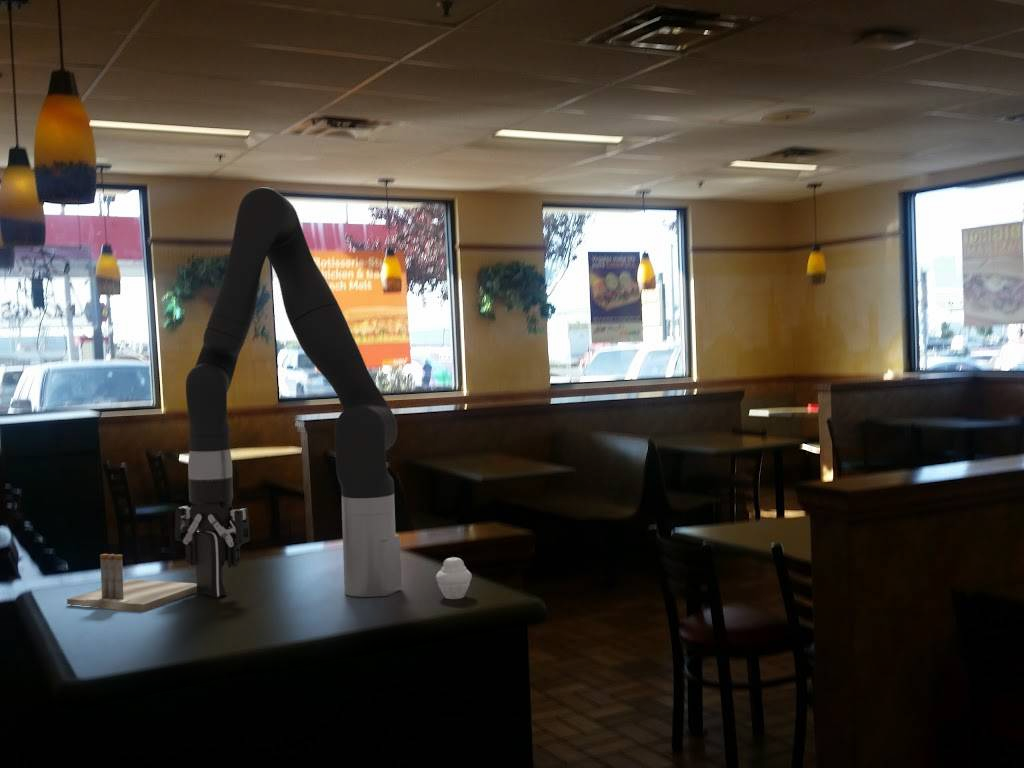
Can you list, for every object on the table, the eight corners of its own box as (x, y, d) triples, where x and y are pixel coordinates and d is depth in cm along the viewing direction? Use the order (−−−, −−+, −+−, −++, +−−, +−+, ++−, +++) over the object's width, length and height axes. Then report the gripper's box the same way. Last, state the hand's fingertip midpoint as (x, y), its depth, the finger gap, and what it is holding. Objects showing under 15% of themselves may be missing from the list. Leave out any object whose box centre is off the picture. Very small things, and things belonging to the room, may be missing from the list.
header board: (202, 590, 189) (201, 542, 188) (143, 611, 173) (141, 559, 173) (130, 585, 194) (129, 538, 194) (67, 606, 179) (65, 555, 179)
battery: (233, 595, 184) (231, 530, 184) (214, 599, 181) (211, 533, 181) (215, 589, 189) (213, 526, 189) (195, 593, 187) (193, 529, 186)
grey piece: (467, 601, 175) (466, 560, 174) (432, 601, 176) (430, 559, 176) (476, 593, 181) (474, 553, 180) (441, 592, 182) (440, 552, 182)
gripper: (256, 473, 186) (259, 564, 186) (190, 472, 191) (193, 559, 191) (231, 478, 179) (234, 572, 179) (163, 476, 184) (166, 568, 184)
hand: (212, 565), depth 185 cm, fingers open, 8 cm apart
